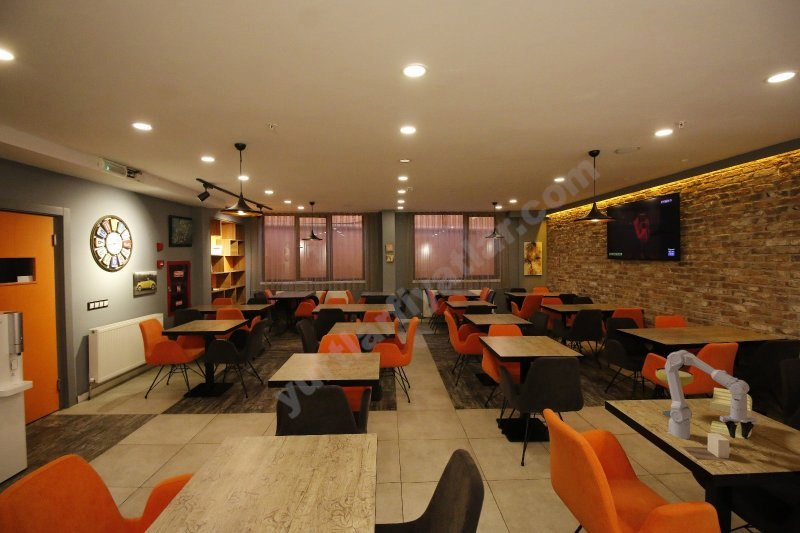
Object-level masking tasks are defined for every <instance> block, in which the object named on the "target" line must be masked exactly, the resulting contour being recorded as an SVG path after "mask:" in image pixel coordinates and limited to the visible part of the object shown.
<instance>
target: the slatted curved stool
mask: <svg viewBox="0 0 800 533" xmlns="http://www.w3.org/2000/svg"><path fill="white" fill-rule="evenodd" d="M745 394H746V393H745ZM712 395H713V396H712V401H711V402H710V401H709V408H710V409H714V410H717V411H722V412H725V413H728V414H729V415H730V414H731V392H730V391H729V389H728V388H726V389H725V388H721V387H719V388H718V387H713V394H712ZM752 406H753V399H752V396H750V395H749V394H748V393H747V417H753V407H752ZM735 424H736V425H737V428H736V432H735V438H739V439H745V438H743V437H742V430H741V424H740V422H735ZM710 425H711V426H710V432H711V433H712V432H713V433H718V434H720V435H721V434H722V435H725V436H729V437H730V434H729V431H728V428H727V426H726V424H725V423H724V422H722V421H717V420H712V421H711V424H710ZM752 429H753V428H752ZM752 429H751V431H750V432H749V434H748V437H747V439H748V438H749V437H750V436H751V435H752V432H753V431H752Z"/></svg>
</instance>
